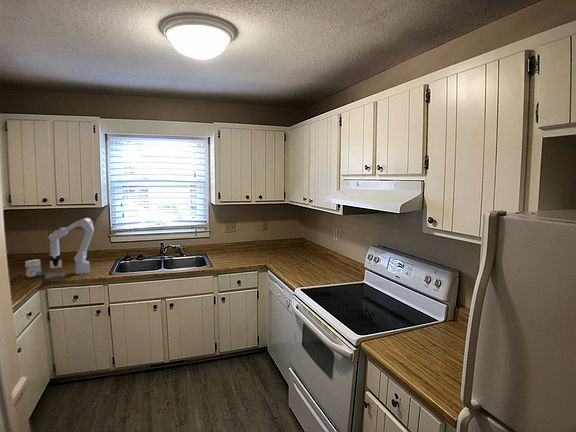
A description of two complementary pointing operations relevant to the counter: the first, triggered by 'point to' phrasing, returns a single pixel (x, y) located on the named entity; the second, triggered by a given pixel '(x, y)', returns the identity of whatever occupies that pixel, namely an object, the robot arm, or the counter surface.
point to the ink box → (33, 267)
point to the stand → (54, 276)
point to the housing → (57, 265)
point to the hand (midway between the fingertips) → (56, 265)
